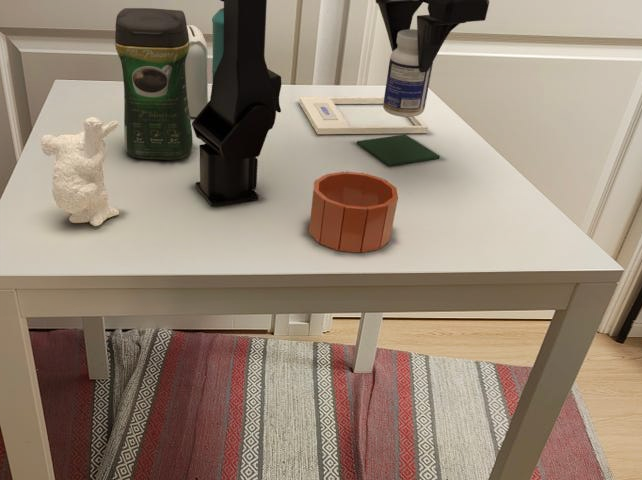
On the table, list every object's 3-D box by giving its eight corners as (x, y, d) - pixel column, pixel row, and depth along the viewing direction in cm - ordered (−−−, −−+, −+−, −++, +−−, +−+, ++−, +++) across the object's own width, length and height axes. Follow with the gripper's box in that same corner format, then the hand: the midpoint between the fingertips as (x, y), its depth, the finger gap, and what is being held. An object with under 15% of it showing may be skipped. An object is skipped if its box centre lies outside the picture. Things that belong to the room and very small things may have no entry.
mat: (388, 166, 94) (389, 163, 94) (356, 143, 100) (356, 141, 100) (439, 158, 97) (440, 155, 97) (405, 136, 104) (405, 134, 103)
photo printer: (175, 97, 113) (172, 19, 105) (200, 97, 114) (199, 18, 106) (183, 119, 105) (181, 35, 97) (210, 118, 106) (210, 35, 98)
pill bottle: (395, 101, 94) (408, 25, 88) (430, 111, 92) (446, 33, 85) (374, 110, 91) (385, 32, 84) (410, 121, 88) (425, 41, 82)
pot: (334, 258, 74) (340, 214, 70) (295, 220, 80) (299, 178, 77) (404, 243, 77) (414, 200, 73) (362, 208, 84) (368, 167, 80)
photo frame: (299, 96, 113) (399, 95, 115) (299, 102, 113) (398, 102, 116) (318, 127, 102) (428, 125, 104) (317, 134, 102) (426, 132, 105)
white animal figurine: (129, 206, 81) (120, 108, 74) (123, 233, 76) (113, 130, 68) (60, 205, 81) (44, 106, 73) (49, 231, 76) (30, 128, 68)
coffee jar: (194, 142, 98) (192, 4, 86) (189, 164, 92) (186, 18, 80) (130, 139, 98) (118, 0, 86) (120, 160, 92) (107, 14, 80)
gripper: (543, -64, 73) (504, 81, 84) (443, -85, 86) (420, 42, 96) (462, -62, 70) (432, 89, 80) (371, -84, 83) (355, 48, 93)
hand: (410, 65), depth 87 cm, fingers closed on pill bottle, 6 cm apart
